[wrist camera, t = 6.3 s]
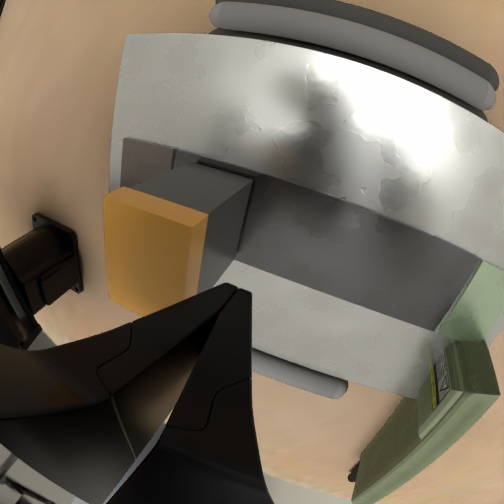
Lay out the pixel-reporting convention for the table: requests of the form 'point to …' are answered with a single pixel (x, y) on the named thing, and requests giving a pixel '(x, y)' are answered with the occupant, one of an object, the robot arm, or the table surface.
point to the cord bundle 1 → (365, 44)
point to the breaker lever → (172, 235)
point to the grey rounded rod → (297, 375)
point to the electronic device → (1, 5)
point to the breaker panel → (329, 197)
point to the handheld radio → (428, 421)
